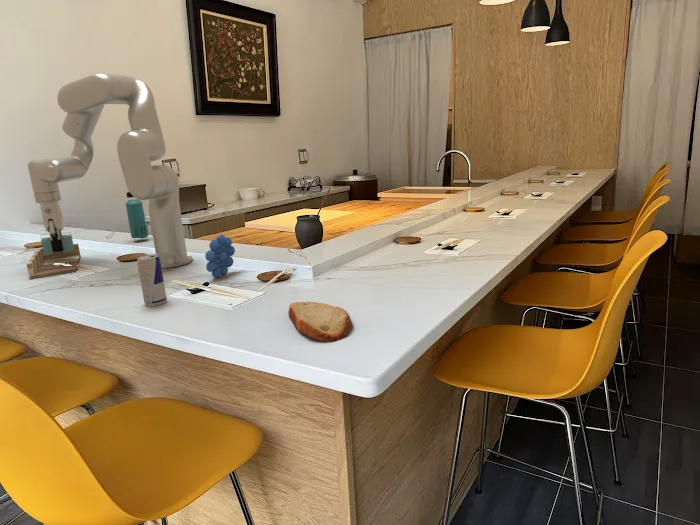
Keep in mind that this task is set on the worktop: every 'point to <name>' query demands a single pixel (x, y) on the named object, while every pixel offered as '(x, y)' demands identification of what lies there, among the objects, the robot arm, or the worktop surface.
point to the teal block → (66, 243)
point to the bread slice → (320, 320)
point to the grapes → (220, 256)
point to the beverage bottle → (136, 218)
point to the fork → (277, 276)
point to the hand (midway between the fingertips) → (59, 249)
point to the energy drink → (151, 279)
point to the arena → (44, 263)
